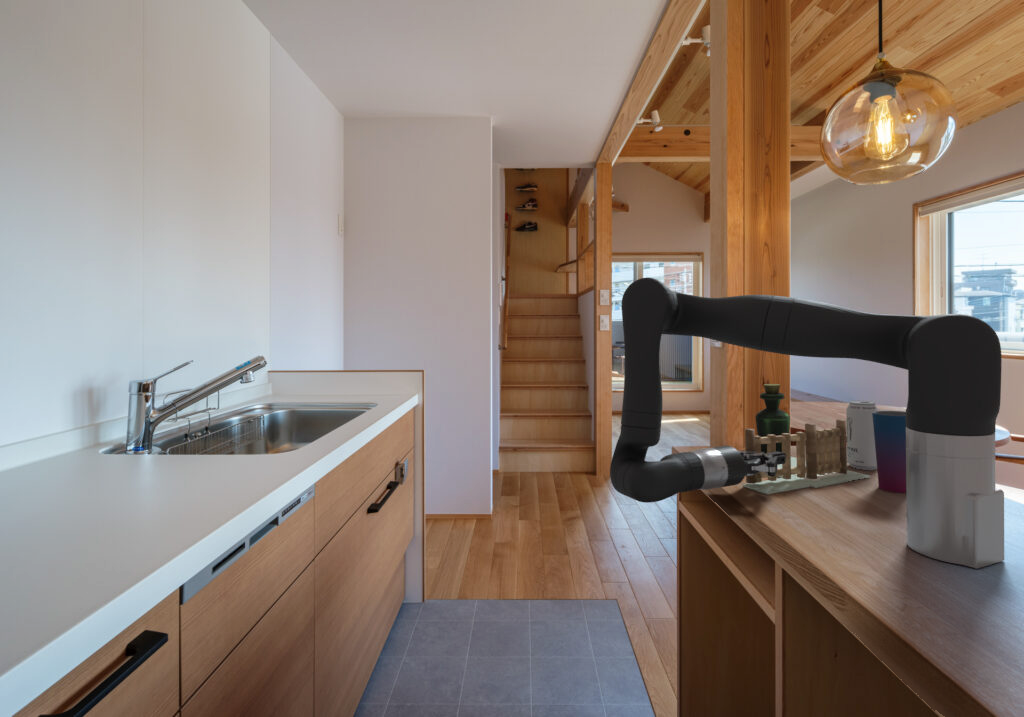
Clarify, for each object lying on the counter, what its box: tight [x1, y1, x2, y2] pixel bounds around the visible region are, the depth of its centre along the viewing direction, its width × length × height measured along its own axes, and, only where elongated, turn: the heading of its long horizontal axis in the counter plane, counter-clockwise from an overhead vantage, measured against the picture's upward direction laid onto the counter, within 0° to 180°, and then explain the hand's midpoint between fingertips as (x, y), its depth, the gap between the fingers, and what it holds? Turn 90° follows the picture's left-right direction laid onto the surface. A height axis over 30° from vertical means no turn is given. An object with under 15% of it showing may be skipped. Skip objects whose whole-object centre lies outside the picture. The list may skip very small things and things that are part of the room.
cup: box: [872, 410, 906, 494], centre depth 94 cm, size 7×7×15 cm
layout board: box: [742, 456, 871, 495], centre depth 108 cm, size 21×28×1 cm
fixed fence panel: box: [804, 418, 848, 479], centre depth 103 cm, size 2×11×12 cm, turn 109°
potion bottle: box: [755, 383, 791, 453], centre depth 126 cm, size 8×8×18 cm
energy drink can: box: [845, 400, 880, 471], centre depth 110 cm, size 6×6×15 cm
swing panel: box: [744, 428, 807, 484], centre depth 100 cm, size 14×2×11 cm, turn 101°
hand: (782, 457), depth 97 cm, fingers closed
